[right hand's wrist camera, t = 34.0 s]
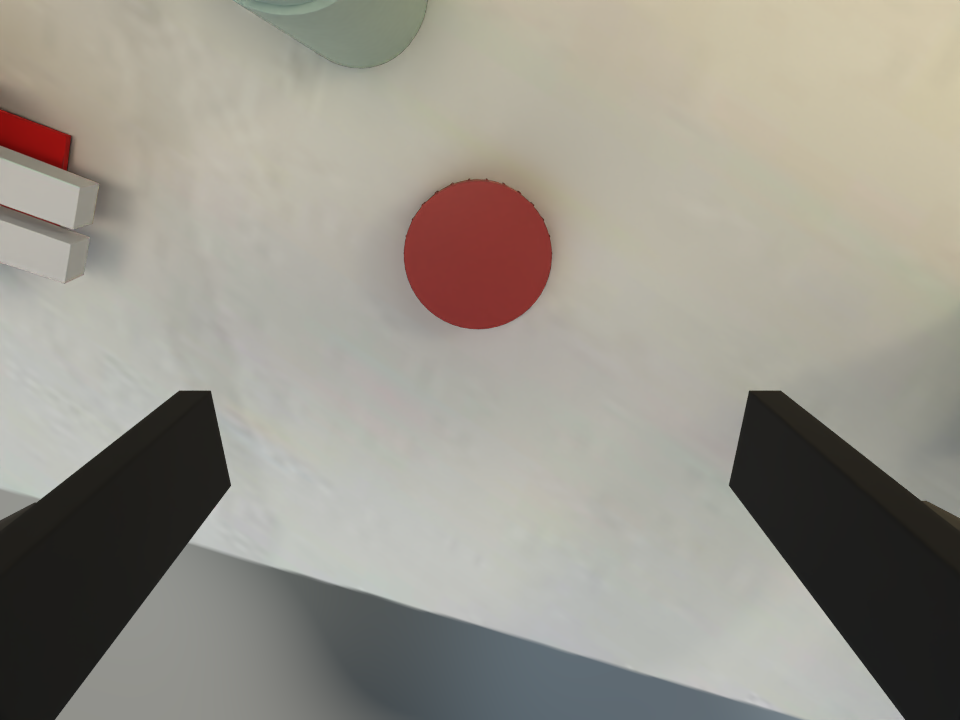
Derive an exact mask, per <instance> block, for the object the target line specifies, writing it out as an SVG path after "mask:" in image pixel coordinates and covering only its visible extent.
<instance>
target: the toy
mask: <svg viewBox="0 0 960 720" xmlns="http://www.w3.org/2000/svg"><path fill="white" fill-rule="evenodd" d="M70 141H71V136H70V135H67V134H65V133H62V132H59V131H57V130H54V129H51V128H49V127H46V126H43V125H41V124H38V123H35V122H33V121H30V120H27V119H25V118H22V117H19V116H17V115H14V114H11V113H9V112H6V111H3V110H1V109H0V263H3V264H6V265H9V266H12V267H15V268H18V269H21V270H24V271H27V272H30V273H34V274H37V275H40V276H43V277H46V278H49V279H52V280H55V281H58V282H61V283H64V284H65V283H67V282H69V281H71V280H73V279H75V278H78V277H80V276H82V275H84V270H85V264H86V258H87V253H88V247H89V241H90V237H88V236H85V235H82V234H79V233H76V232H74V231H71V230H68V229H65V228H62V227H60V225H61V226H64V227H67V228H70V229H72V230H74V229H77V228H80V227H83V226H86V225H89V224H92V223H93V218H94V212H95V206H96V200H97V195H98V189H99V183H97V182H94V181H92V180H89V179H86V178H84V177H81V176H79V175H76V174H73V173H71V172H68V171H67V166H68V158H69V149H70Z"/></svg>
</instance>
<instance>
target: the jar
mask: <svg viewBox="0 0 960 720" xmlns="http://www.w3.org/2000/svg"><path fill="white" fill-rule="evenodd" d="M233 1H235V2H236V3H238V4H239V5H241V6H243V7H244V8H246V9H247V10H249V11H251V12H252V13H254V14H255V15H257V16H259V17H260V18H262V19H263V20H265V21H267V22H268V23H270V24H271V25H273V26H275V27H276V28H278V29H279V30H281V31H283V32H284V33H286V34H287V35H289V36H291V37H292V38H294V39H295V40H297V41H299V42H300V43H302V44H303V45H305V46H307V47H308V48H310V49H311V50H313V51H315V52H316V53H318V54H319V55H321V56H323V57H324V58H326V59H328V60H330V61H332V62H334V63H337V64H339V65H342V66H347V67H351V68H370V67H374V66H378V65H381V64H383V63H386V62H388V61H390V60H392V59H393V58H395V57H396V56H398V55H399V54H400V53H401V52H403V50H404V49H405V48H406V47H407V46H408V45H409V44H410V43H411V41H412V40H413V39H414V37H415V36H416V34H417V32H418V30H419V28H420V26H421V23H422V21H423V18H424V15H425V11H426V7H427V1H428V0H233Z"/></svg>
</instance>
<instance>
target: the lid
mask: <svg viewBox="0 0 960 720" xmlns="http://www.w3.org/2000/svg"><path fill="white" fill-rule="evenodd" d="M533 206H534V204H532V203H531V202H529V201H528V200H527V199H526V198H524V197H523V196H522V195H521V193H520V192H519V191H515V190H514V189H512V188H510V187H508V186H506V185H505V184H504V183H502V184H501V183H498V182H495V181H490V180H488V179H486V180H481V179H474V180H470V179H468V180H465V181H461V182H457V183H455V184H454V183H451V184H450V185H449V186H447V187H445V188H444V189H442V190H440V191H437V192H435V195H433V196H432V197H431V198H430V199H429V200H428V201H427V202H424V203H423V204H422V207H421V208H420V210H419V211H418V212H417V214H416V215H415V217H414V218H413V219H412V222H411V225H410V227H409V230H408V232H407V235H406V240H405V247H404V263H405V270H406V274H407V277H408V280H409V283H410V285H411V288H412V289H413V291H414V293H415V295H416V296H417V298H418V299H419V300H420V302H421V303H422V304H423V305H424V306H425V307H426V308H427V309H428V310H429V311H430V312H431V313H433V314H434V315H435V316H437V317H438V318H440V319H442V320H443V321H445V322H448V323H450V324H452V325H455V326H459V327H463V328H469V329H488V328H493V327H498V326H500V325H503V324H506V323H508V322H510V321H512V320H514V319H516V318H517V317H519V316H521V315H522V314H523V313H524V312H526V311H527V310H528V309H529V308H530V307H531V306H532V305H533V304H534V303H535V301H536V300H537V299H538V297H539V296H540V294H541V293H542V291H543V289H544V287H545V285H546V282H547V280H548V277H549V273H550V269H551V260H552V249H551V242H550V235H549V234H548V230H547V228H546V226H545V223H544V219H543V218H542V217H541V216H540V214H539V213H538V211H537V210H536V209H535V208H534V207H533Z"/></svg>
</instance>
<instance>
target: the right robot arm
mask: <svg viewBox="0 0 960 720" xmlns="http://www.w3.org/2000/svg"><path fill="white" fill-rule="evenodd" d="M230 486H231V483H230V478H229V474H228V469H227V464H226V460H225V455H224V450H223V446H222V441H221V436H220V432H219V427H218V422H217V418H216V413H215V408H214V404H213V399H212V394H211V391H178V392H177V393H176V394H174V395H173V396H172V397H171V398H169V399H168V400H167V401H166V402H164V403H163V404H162V405H160V406H159V407H158V408H157V409H155V410H154V411H153V412H152V413H150V414H149V415H148V416H146V417H145V418H144V419H143V420H141V421H140V422H139V423H138V424H136V425H135V426H134V427H132V428H131V429H130V430H129V431H127V432H126V433H125V434H123V435H122V436H121V437H120V438H118V439H117V440H116V441H115V442H113V443H112V444H111V445H109V446H108V447H107V448H106V449H104V450H103V451H102V452H101V453H99V454H98V455H97V456H95V457H94V458H93V459H92V460H90V461H89V462H88V463H87V464H85V465H84V466H83V467H81V468H80V469H79V470H78V471H76V472H75V473H74V474H73V475H71V476H70V477H69V478H67V479H66V480H65V481H64V482H62V483H61V484H60V485H58V486H57V487H56V488H55V489H53V490H52V491H51V492H50V493H48V494H47V495H46V496H44V497H43V498H42V499H41V500H39V501H38V502H37V503H33V504H31V505H29V506H27V507H25V508H23V509H21V510H20V511H18V512H16V513H14V514H12V515H10V516H8V517H6V518H4V519H2V520H0V720H55V719H56V717H57V716H58V715H59V713H60V712H61V711H62V709H63V708H64V707H65V705H66V704H67V703H68V701H69V700H70V699H71V697H72V696H73V695H74V693H75V692H76V691H77V689H78V688H79V687H80V685H81V684H82V683H83V682H84V680H85V679H86V678H87V676H88V675H89V673H90V672H91V671H92V669H93V668H94V667H95V666H96V664H97V663H98V662H99V660H100V659H101V658H102V656H103V655H104V654H105V652H106V651H107V650H108V648H109V647H110V646H111V644H112V643H113V642H114V640H115V639H116V638H117V636H118V635H119V634H120V632H121V631H122V630H123V628H124V627H125V626H126V624H127V623H128V622H129V620H130V619H131V618H132V616H133V615H134V614H135V612H136V611H137V610H138V608H139V607H140V606H141V604H142V603H143V602H144V600H145V599H146V598H147V596H148V595H149V594H150V593H151V591H152V590H153V589H154V587H155V586H156V585H157V583H158V582H159V580H160V579H161V578H162V576H163V575H164V574H165V573H166V571H167V570H168V569H169V567H170V566H171V565H172V563H173V562H174V561H175V559H176V558H177V557H178V555H179V554H180V553H181V551H182V550H183V549H184V547H185V546H186V545H187V543H188V542H189V541H190V539H191V538H192V537H193V535H194V534H195V533H196V531H197V530H198V529H199V527H200V526H201V525H202V523H203V522H204V521H205V519H206V518H207V517H208V515H209V514H210V513H211V511H212V510H213V509H214V507H215V506H216V505H217V504H218V502H219V501H220V500H221V498H222V497H223V496H224V494H225V493H226V492H227V490H228V489H229V488H230ZM729 486H730V488H731V489H732V490H733V492H734V493H735V494H736V496H737V497H738V498H739V500H740V501H741V502H742V504H743V505H744V506H745V507H746V509H747V510H748V511H749V513H750V514H751V515H752V517H753V518H754V519H755V521H756V522H757V523H758V525H759V526H760V527H761V529H762V530H763V531H764V533H765V534H766V535H767V537H768V538H769V539H770V541H771V542H772V543H773V545H774V546H775V547H776V549H777V550H778V551H779V553H780V554H781V555H782V557H783V558H784V559H785V561H786V562H787V563H788V565H789V566H790V567H791V569H792V570H793V571H794V573H795V574H796V575H797V577H798V578H799V579H800V581H801V582H802V583H803V585H804V586H805V587H806V589H807V590H808V591H809V593H810V594H811V595H812V596H813V598H814V599H815V600H816V602H817V603H818V604H819V606H820V607H821V608H822V610H823V611H824V612H825V614H826V615H827V616H828V618H829V619H830V620H831V622H832V623H833V624H834V626H835V627H836V628H837V630H838V631H839V632H840V634H841V635H842V636H843V638H844V639H845V640H846V642H847V643H848V644H849V646H850V647H851V648H852V650H853V651H854V652H855V654H856V655H857V656H858V658H859V659H860V660H861V662H862V663H863V664H864V666H865V667H866V668H867V670H868V671H869V672H870V674H871V675H872V676H873V678H874V679H875V680H876V682H877V683H878V684H879V686H880V687H881V688H882V689H883V691H884V692H885V693H886V695H887V696H888V697H889V699H890V700H891V701H892V703H893V704H894V705H895V707H896V708H897V709H898V711H899V712H900V713H901V715H902V716H903V717H904V719H905V720H960V518H958V517H956V516H954V515H952V514H951V513H949V512H947V511H945V510H943V509H941V508H939V507H937V506H935V505H933V504H931V503H929V502H927V501H921V500H919V499H918V498H917V497H916V496H914V495H913V494H912V493H910V492H909V491H908V490H907V489H905V488H904V487H903V486H902V485H900V484H899V483H898V482H896V481H895V480H894V479H893V478H891V477H890V476H889V475H887V474H886V473H885V472H884V471H882V470H881V469H880V468H879V467H877V466H876V465H875V464H873V463H872V462H871V461H870V460H868V459H867V458H866V457H865V456H863V455H862V454H861V453H859V452H858V451H857V450H856V449H854V448H853V447H852V446H851V445H849V444H848V443H847V442H845V441H844V440H843V439H842V438H840V437H839V436H838V435H837V434H835V433H834V432H833V431H831V430H830V429H829V428H828V427H826V426H825V425H824V424H822V423H821V422H820V421H819V420H817V419H816V418H815V417H814V416H812V415H811V414H810V413H808V412H807V411H806V410H805V409H803V408H802V407H801V406H800V405H798V404H797V403H796V402H794V401H793V400H792V399H791V398H789V397H788V396H787V395H786V394H784V393H783V392H782V391H749V394H748V399H747V404H746V408H745V413H744V418H743V422H742V427H741V432H740V436H739V441H738V446H737V450H736V455H735V460H734V464H733V469H732V474H731V478H730V483H729Z"/></svg>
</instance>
